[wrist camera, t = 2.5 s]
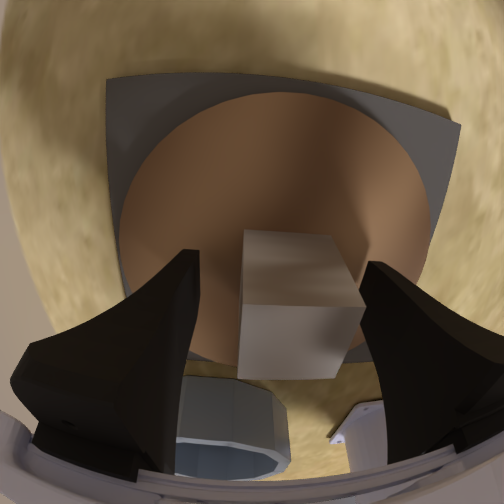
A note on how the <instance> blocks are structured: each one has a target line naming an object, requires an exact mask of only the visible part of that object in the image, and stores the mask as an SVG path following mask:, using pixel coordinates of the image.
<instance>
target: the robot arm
mask: <svg viewBox="0 0 504 504" xmlns="http://www.w3.org/2000/svg"><path fill="white" fill-rule="evenodd" d="M359 292H360V295H361V297H362V299H363V301H364V303H365V305H366V309H365V311H364V314H363V316H362V319H361V321H360V326H361V329H362V332H363V335H364V337H365V340H366V343H367V345H368V348H369V351H370V353H371V356H372V359H373V362H374V364H375V367H376V370H377V374H378V377H379V382H380V387H381V392H382V397H383V400H380V401H373V402H365V403H359V404H357V405H355V406H354V408H353V409H352V411H351V412H350V413H349V415H348V416H347V417H346V419H345V420H344V422H343V423H342V424H341V426H340V427H339V428H338V429H337V431H336V432H335V433H334V435H333V436H332V437H331V438H330V440H329V443H330V444H337V443H345V445H346V450H347V456H348V461H349V466H350V472H351V473H347V474H341V475H334V476H327V477H318V478H309V479H298V480H282V481H228V480H212V479H201V478H192V477H183V476H176V475H175V454H176V437H177V424H178V413H179V403H180V394H181V386H182V379H183V373H184V368H185V364H186V360H187V356H188V352H189V348H190V344H191V340H192V337H193V333H194V329H195V325H196V321H197V317H198V310H199V303H200V295H201V293H200V250H194V249H182V250H181V251H180V252H179V253H178V254H177V255H176V256H175V257H174V258H173V259H172V260H171V261H170V262H169V263H167V264H166V265H165V266H164V267H163V268H162V269H161V270H160V271H159V272H158V273H157V274H156V275H155V276H153V277H152V278H151V279H150V280H149V281H148V282H146V283H145V284H144V285H143V286H142V287H140V288H139V289H138V290H137V291H135V292H134V293H133V294H131V295H130V296H129V297H127V298H126V299H124V300H123V301H121V302H120V303H118V304H117V305H115V306H114V307H112V308H110V309H108V310H107V311H105V312H103V313H101V314H100V315H98V316H96V317H94V318H93V319H91V320H89V321H87V322H85V323H82V324H80V325H78V326H76V327H74V328H71V329H69V330H67V331H64V332H62V333H59V334H57V335H54V336H51V337H48V338H45V339H42V340H39V341H36V342H33V343H30V344H29V346H28V347H27V349H26V351H25V353H24V354H23V356H22V358H21V360H20V361H19V363H18V365H17V367H16V369H15V370H14V372H13V374H12V376H11V378H10V384H11V387H12V389H13V392H14V393H15V395H16V396H17V397H18V399H19V400H20V401H21V402H22V403H23V405H24V406H25V407H26V408H27V409H28V410H29V411H30V412H31V414H32V415H33V416H34V417H35V418H36V419H37V420H38V421H39V423H38V426H37V428H36V431H35V434H32V433H31V431H30V430H29V429H28V428H27V427H26V426H25V425H24V424H23V423H21V422H20V421H18V420H17V419H16V418H14V417H12V416H11V415H9V414H7V413H5V412H3V411H1V410H0V493H2V494H3V495H4V496H6V497H7V498H9V499H10V500H12V501H13V502H15V503H16V504H191V503H197V504H306V503H315V502H322V501H329V500H335V499H341V498H346V497H351V496H355V501H356V504H504V336H502V335H499V334H497V333H494V332H492V331H490V330H487V329H485V328H483V327H481V326H479V325H477V324H475V323H473V322H471V321H469V320H467V319H466V318H464V317H462V316H460V315H459V314H457V313H455V312H454V311H452V310H450V309H449V308H447V307H446V306H444V305H443V304H441V303H440V302H438V301H437V300H436V299H434V298H433V297H431V296H430V295H428V294H427V293H426V292H424V291H423V290H422V289H420V288H419V287H418V286H416V285H415V284H414V283H412V282H411V281H410V280H408V279H407V278H406V277H404V276H403V275H402V274H400V273H399V272H398V271H396V270H395V269H393V268H392V267H390V266H389V265H387V264H386V263H384V262H382V261H368V263H367V266H366V269H365V273H364V276H363V279H362V281H361V284H360V287H359ZM186 502H188V503H186Z"/></svg>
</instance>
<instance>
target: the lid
mask: <svg viewBox="0 0 504 504" xmlns="http://www.w3.org/2000/svg"><path fill="white" fill-rule="evenodd" d="M430 229H431V222H430V209H429V203H428V199H427V195H426V190H425V187H424V185H423V182H422V180H421V177H420V175H419V172H418V170H417V168H416V167H415V165H414V163H413V162H412V160H411V158H410V157H409V155H408V153H407V152H406V151H405V150H404V148H403V147H402V146H401V145H400V144H399V142H398V141H397V140H396V139H395V138H394V137H393V136H392V135H391V134H390V133H389V132H388V131H387V130H385V129H384V128H383V127H382V126H381V125H380V124H378V123H377V122H376V121H374V120H373V119H371V118H370V117H368V116H366V115H365V114H363V113H361V112H360V111H358V110H356V109H354V108H352V107H349V106H347V105H345V104H342V103H340V102H337V101H335V100H332V99H328V98H324V97H319V96H315V95H310V94H304V93H290V92H272V93H261V94H252V95H248V96H244V97H240V98H236V99H232V100H228V101H225V102H222V103H220V104H218V105H215V106H213V107H211V108H208V109H206V110H204V111H202V112H200V113H198V114H196V115H195V116H193V117H192V118H190V119H188V120H187V121H185V122H184V123H182V124H181V125H179V126H178V127H176V128H175V129H174V130H173V131H172V132H171V133H170V134H168V135H167V136H166V137H165V138H164V139H163V140H162V141H161V142H159V143H158V145H157V146H156V147H155V148H154V149H153V151H152V152H151V153H150V154H149V156H148V157H147V158H146V159H145V160H144V162H143V163H142V165H141V167H140V168H139V170H138V172H137V174H136V175H135V177H134V179H133V180H132V183H131V185H130V188H129V190H128V193H127V195H126V198H125V201H124V205H123V209H122V214H121V219H120V229H119V247H120V256H121V262H122V266H123V270H124V274H125V277H126V279H127V282H128V284H129V287H130V289H131V291H132V293H134V292H135V291H137V290H138V289H139V288H140V287H142V286H143V285H144V284H145V283H146V282H148V281H149V280H150V279H151V278H152V277H153V276H155V275H156V274H157V273H158V272H159V271H160V270H161V269H162V268H163V267H164V266H165V265H166V264H167V263H169V262H170V261H171V260H172V259H173V258H174V257H175V256H176V255H177V254H178V253H179V252H180V251H181V250H182V249H194V250H200V293H201V295H200V303H199V310H198V317H197V321H196V325H195V329H194V333H193V337H192V340H191V344H190V348H189V350H190V351H192V352H194V353H196V354H198V355H200V356H202V357H204V358H207V359H210V360H212V361H215V362H218V363H222V364H226V365H230V366H234V367H237V379H251V380H307V379H330V378H335V376H336V374H337V372H338V370H339V368H340V366H341V364H342V362H343V360H344V357H345V355H346V353H347V351H349V350H351V349H353V348H355V347H356V346H358V345H360V344H361V343H363V342H364V341H366V340H365V337H364V335H363V332H362V329H361V326H360V321H361V319H362V316H363V314H364V311H365V309H366V305H365V303H364V301H363V299H362V297H361V295H360V292H359V287H360V284H361V281H362V279H363V276H364V273H365V269H366V266H367V263H368V261H382V262H384V263H386V264H387V265H389V266H390V267H392V268H393V269H395V270H396V271H398V272H399V273H400V274H402V275H403V276H404V277H406V278H407V279H408V280H410V281H411V282H412V283H414V284H415V285H416V284H417V282H418V280H419V278H420V275H421V273H422V270H423V267H424V264H425V261H426V258H427V253H428V248H429V243H430Z"/></svg>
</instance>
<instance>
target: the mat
mask: <svg viewBox="0 0 504 504" xmlns="http://www.w3.org/2000/svg"><path fill="white" fill-rule="evenodd" d="M272 92H290V93H304V94H310V95H315V96H319V97H324V98H328V99H332V100H335V101H337V102H340V103H342V104H345V105H347V106H349V107H352V108H354V109H356V110H358V111H360V112H361V113H363V114H365V115H366V116H368V117H370V118H371V119H373V120H374V121H376V122H377V123H378V124H380V125H381V126H382V127H383V128H384V129H385V130H387V131H388V132H389V133H390V134H391V135H392V136H393V137H394V138H395V139H396V140H397V141H398V142H399V144H400V145H401V146H402V147H403V148H404V150H405V151H406V152H407V153H408V155H409V157H410V158H411V160H412V162H413V163H414V165H415V167H416V168H417V170H418V172H419V175H420V177H421V180H422V182H423V185H424V187H425V190H426V195H427V199H428V203H429V209H430V222H431V229H430V242H431V239H432V236H433V234H434V231H435V228H436V225H437V222H438V219H439V215H440V212H441V209H442V206H443V202H444V199H445V195H446V192H447V188H448V184H449V181H450V177H451V173H452V168H453V164H454V160H455V155H456V151H457V146H458V141H459V135H460V130H461V124H458V123H456V122H454V121H451V120H449V119H446V118H444V117H441V116H439V115H436V114H433V113H431V112H428V111H425V110H422V109H419V108H416V107H413V106H410V105H407V104H404V103H401V102H398V101H394V100H391V99H388V98H384V97H380V96H377V95H373V94H369V93H365V92H361V91H357V90H352V89H348V88H343V87H339V86H334V85H328V84H323V83H317V82H311V81H305V80H298V79H291V78H283V77H274V76H265V75H253V74H237V73H165V74H150V75H138V76H128V77H120V78H112V79H106V147H107V165H108V179H109V190H110V200H111V209H112V217H113V224H114V232H115V238H116V245H117V251H118V257H119V262H120V268H121V273H122V278H123V283H124V288H125V293H126V297H129V296H130V295H131V294H133V293H132V291H131V289H130V287H129V284H128V282H127V279H126V277H125V274H124V270H123V266H122V262H121V256H120V247H119V229H120V219H121V214H122V209H123V205H124V201H125V198H126V195H127V193H128V190H129V188H130V185H131V183H132V180H133V179H134V177H135V175H136V174H137V172H138V170H139V168H140V167H141V165H142V163H143V162H144V160H145V159H146V158H147V157H148V156H149V154H150V153H151V152H152V151H153V149H154V148H155V147H156V146H157V145H158V143H159V142H161V141H162V140H163V139H164V138H165V137H166V136H167V135H168V134H170V133H171V132H172V131H173V130H174V129H175V128H176V127H178V126H179V125H181V124H182V123H184V122H185V121H187V120H188V119H190V118H192V117H193V116H195V115H196V114H198V113H200V112H202V111H204V110H206V109H208V108H211V107H213V106H215V105H218V104H220V103H222V102H225V101H228V100H232V99H236V98H240V97H244V96H248V95H252V94H261V93H272ZM429 245H430V243H429ZM187 359H188V360H198V361H210V362H215V361H212V360H210V359H207V358H204V357H202V356H200V355H198V354H196V353H194V352H192V351H190V350H189V352H188V356H187ZM372 361H373V359H372V356H371V353H370V351H369V348H368V345H367V343H366V341H364V342H363V343H361V344H360V345H358V346H356V347H355V348H353V349H351V350H349V351H347V353H346V355H345V357H344V360H343V362H342V363H359V362H372Z"/></svg>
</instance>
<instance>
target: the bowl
mask: <svg viewBox="0 0 504 504" xmlns="http://www.w3.org/2000/svg"><path fill="white" fill-rule="evenodd" d="M290 462H291V453H290V442H289V431H288V421H287V411H286V408H285V407H284V406H283V405H282V404H281V402H280V401H279V400H278V399H277V398H276V397H275V396H274V394H273V393H272V392H270V391H267V390H264V389H261V388H258V387H255V386H252V385H249V384H247V383H244V382H241V381H238V380H236V379H225V378H211V377H199V376H189V375H188V376H183V379H182V386H181V394H180V403H179V413H178V424H177V437H176V454H175V475H177V476H183V477H192V478H201V479H212V480H228V481H251V480H260V479H264V478H267V477H270V476H273V475H276V474H279V473H282V472H284V471H285V469H286V468H287V466H288V465H289V464H290Z"/></svg>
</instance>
